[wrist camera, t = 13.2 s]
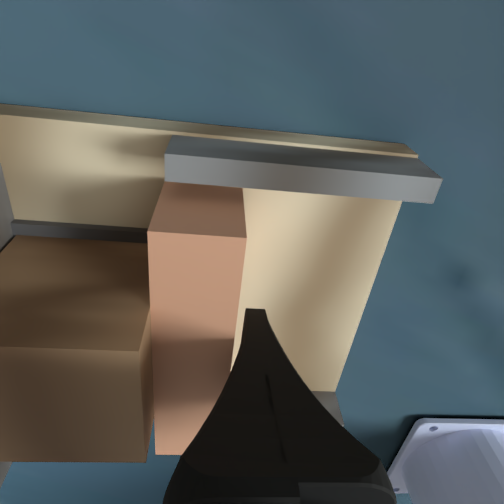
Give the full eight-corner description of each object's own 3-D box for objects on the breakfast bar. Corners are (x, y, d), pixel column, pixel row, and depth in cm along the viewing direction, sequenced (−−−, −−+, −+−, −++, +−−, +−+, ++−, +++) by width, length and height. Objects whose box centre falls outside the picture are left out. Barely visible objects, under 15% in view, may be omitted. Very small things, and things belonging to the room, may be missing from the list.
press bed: (404, 144, 14) (512, 230, 9) (325, 383, 21) (359, 511, 15) (-85, 95, 12) (-322, 165, 7) (9, 374, 19) (-73, 515, 14)
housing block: (165, 244, 14) (138, 351, 9) (166, 344, 16) (145, 462, 12) (16, 234, 13) (-83, 343, 9) (42, 339, 16) (-24, 461, 12)
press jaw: (242, 187, 13) (246, 237, 10) (220, 387, 18) (220, 455, 15) (164, 181, 12) (147, 231, 10) (166, 386, 18) (155, 454, 15)
